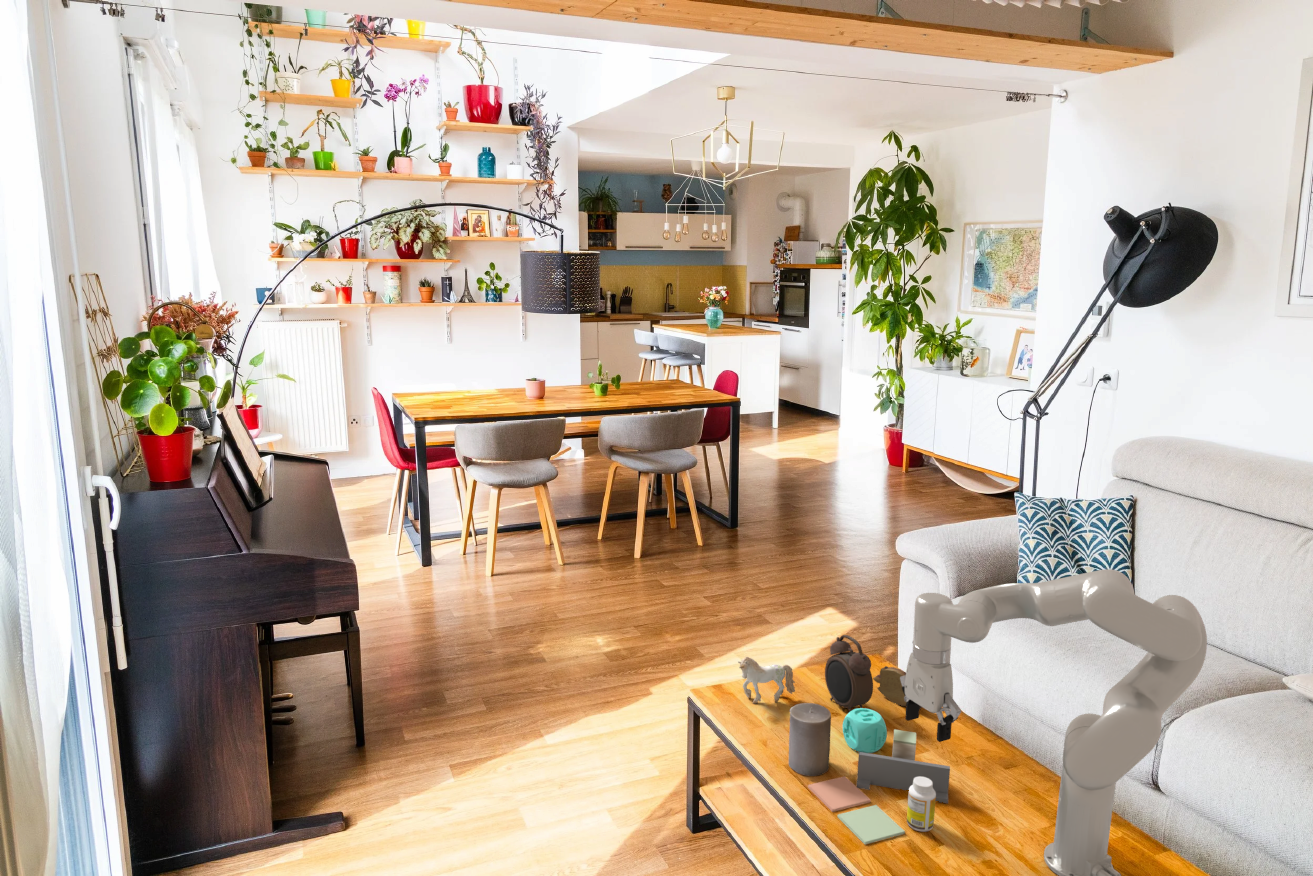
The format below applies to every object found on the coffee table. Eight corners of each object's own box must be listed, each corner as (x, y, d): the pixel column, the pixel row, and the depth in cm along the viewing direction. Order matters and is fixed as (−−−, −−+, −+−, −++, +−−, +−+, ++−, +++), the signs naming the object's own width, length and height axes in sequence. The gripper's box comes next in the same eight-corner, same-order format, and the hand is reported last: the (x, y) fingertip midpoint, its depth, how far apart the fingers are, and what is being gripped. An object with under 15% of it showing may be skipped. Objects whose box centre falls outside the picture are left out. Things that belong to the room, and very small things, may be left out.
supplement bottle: (927, 816, 192) (930, 773, 190) (937, 832, 187) (941, 788, 185) (902, 817, 191) (905, 774, 190) (912, 833, 186) (915, 789, 184)
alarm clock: (819, 698, 245) (822, 630, 241) (840, 693, 248) (844, 626, 244) (851, 722, 232) (855, 651, 228) (873, 717, 235) (878, 646, 231)
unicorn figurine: (723, 702, 241) (724, 656, 239) (781, 688, 250) (783, 643, 248) (737, 714, 235) (739, 667, 233) (796, 699, 244) (799, 653, 242)
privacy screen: (947, 788, 203) (949, 760, 201) (947, 803, 197) (950, 774, 196) (857, 773, 208) (859, 746, 207) (856, 787, 202) (858, 759, 201)
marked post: (913, 771, 209) (916, 732, 207) (913, 783, 205) (916, 743, 203) (891, 768, 211) (894, 729, 209) (890, 779, 206) (893, 740, 204)
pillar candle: (830, 758, 215) (833, 700, 212) (827, 779, 205) (829, 719, 203) (790, 752, 217) (792, 695, 215) (785, 773, 208) (787, 714, 205)
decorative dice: (857, 756, 216) (859, 725, 214) (841, 739, 223) (843, 710, 222) (886, 751, 218) (888, 721, 217) (868, 735, 226) (870, 705, 224)
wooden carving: (930, 711, 238) (933, 677, 236) (921, 717, 235) (924, 682, 233) (877, 690, 250) (879, 657, 248) (868, 695, 247) (870, 662, 245)
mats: (904, 833, 186) (904, 831, 186) (864, 844, 182) (865, 842, 182) (844, 778, 206) (844, 776, 206) (807, 787, 202) (807, 785, 202)
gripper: (890, 641, 190) (886, 715, 193) (946, 672, 175) (942, 752, 178) (917, 635, 193) (914, 708, 196) (975, 666, 178) (970, 744, 181)
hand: (927, 729), depth 187 cm, fingers open, 9 cm apart
